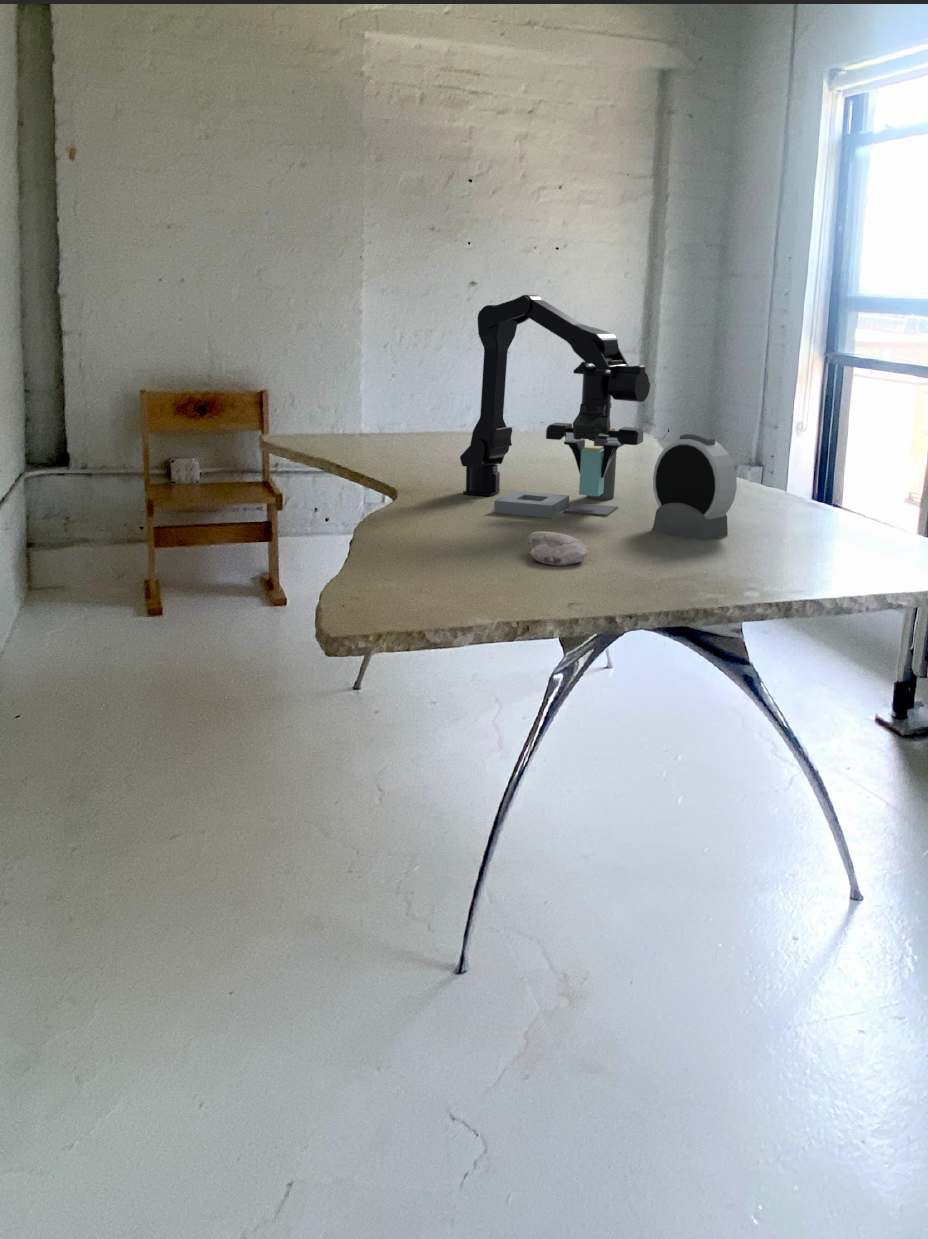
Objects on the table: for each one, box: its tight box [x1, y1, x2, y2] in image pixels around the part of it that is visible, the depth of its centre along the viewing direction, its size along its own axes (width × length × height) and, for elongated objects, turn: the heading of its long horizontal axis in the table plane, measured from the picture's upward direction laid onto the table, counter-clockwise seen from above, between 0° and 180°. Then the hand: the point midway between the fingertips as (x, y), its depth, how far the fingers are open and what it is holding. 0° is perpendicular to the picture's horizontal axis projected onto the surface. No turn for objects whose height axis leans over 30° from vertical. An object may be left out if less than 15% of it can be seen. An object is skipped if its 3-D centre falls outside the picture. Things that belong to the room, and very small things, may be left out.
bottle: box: [586, 426, 617, 501], centre depth 229 cm, size 6×6×15 cm
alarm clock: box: [652, 432, 738, 541], centre depth 197 cm, size 16×10×18 cm, turn 37°
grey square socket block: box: [493, 490, 570, 519], centre depth 216 cm, size 12×12×2 cm
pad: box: [562, 502, 619, 517], centre depth 217 cm, size 9×9×1 cm
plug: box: [578, 444, 604, 496], centre depth 215 cm, size 4×4×10 cm
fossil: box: [527, 530, 589, 567], centre depth 178 cm, size 12×4×10 cm
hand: (592, 476), depth 215 cm, fingers closed on plug, 4 cm apart
